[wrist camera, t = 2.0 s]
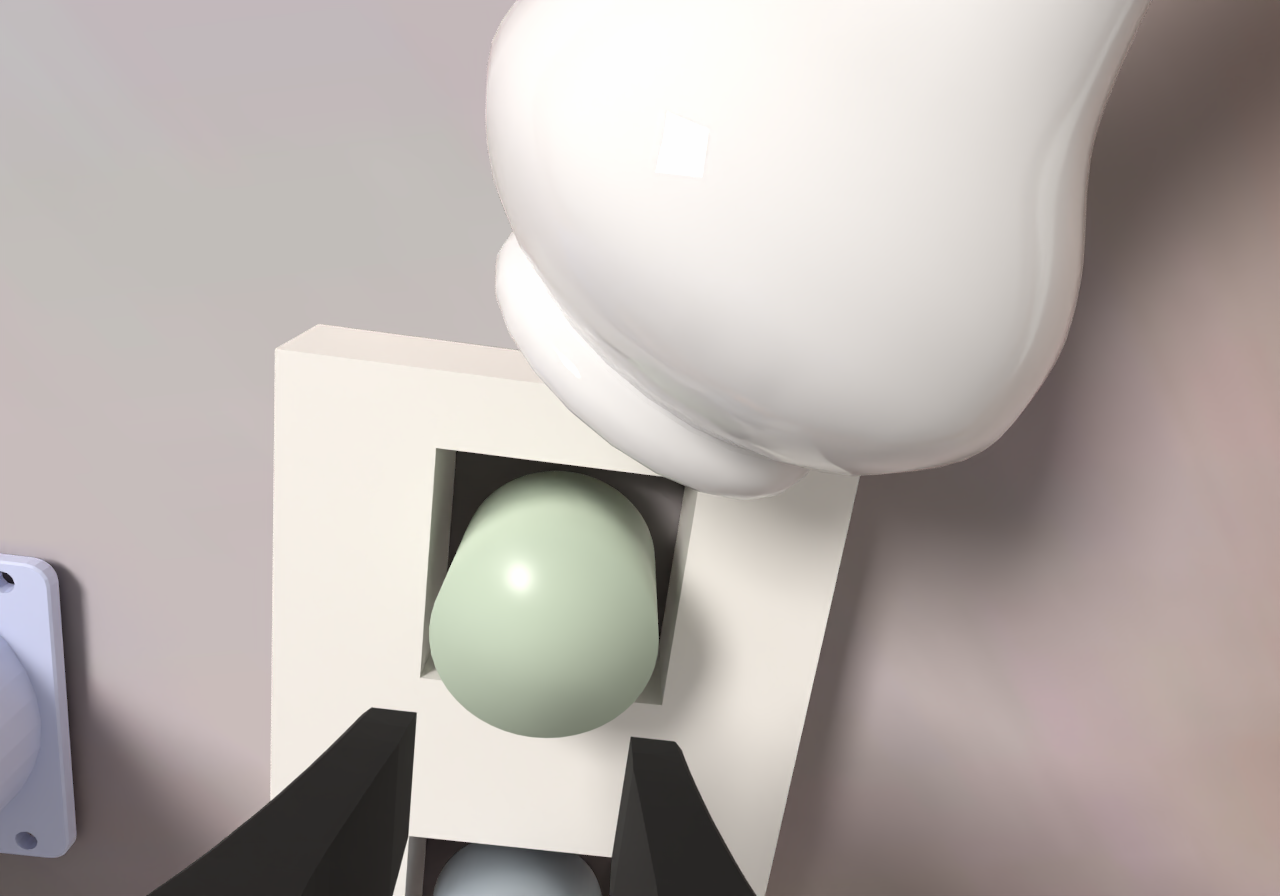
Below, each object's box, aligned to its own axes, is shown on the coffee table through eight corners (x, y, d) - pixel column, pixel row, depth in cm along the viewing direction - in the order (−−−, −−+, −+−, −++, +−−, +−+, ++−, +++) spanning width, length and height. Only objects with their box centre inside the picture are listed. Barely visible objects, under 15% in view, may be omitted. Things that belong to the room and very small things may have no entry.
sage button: (455, 634, 19) (422, 725, 16) (469, 458, 18) (436, 521, 15) (641, 656, 20) (642, 750, 17) (668, 483, 18) (674, 550, 15)
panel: (296, 1191, 27) (265, 1288, 25) (318, 323, 19) (275, 348, 16) (665, 1222, 27) (668, 1320, 25) (843, 393, 19) (871, 426, 17)
